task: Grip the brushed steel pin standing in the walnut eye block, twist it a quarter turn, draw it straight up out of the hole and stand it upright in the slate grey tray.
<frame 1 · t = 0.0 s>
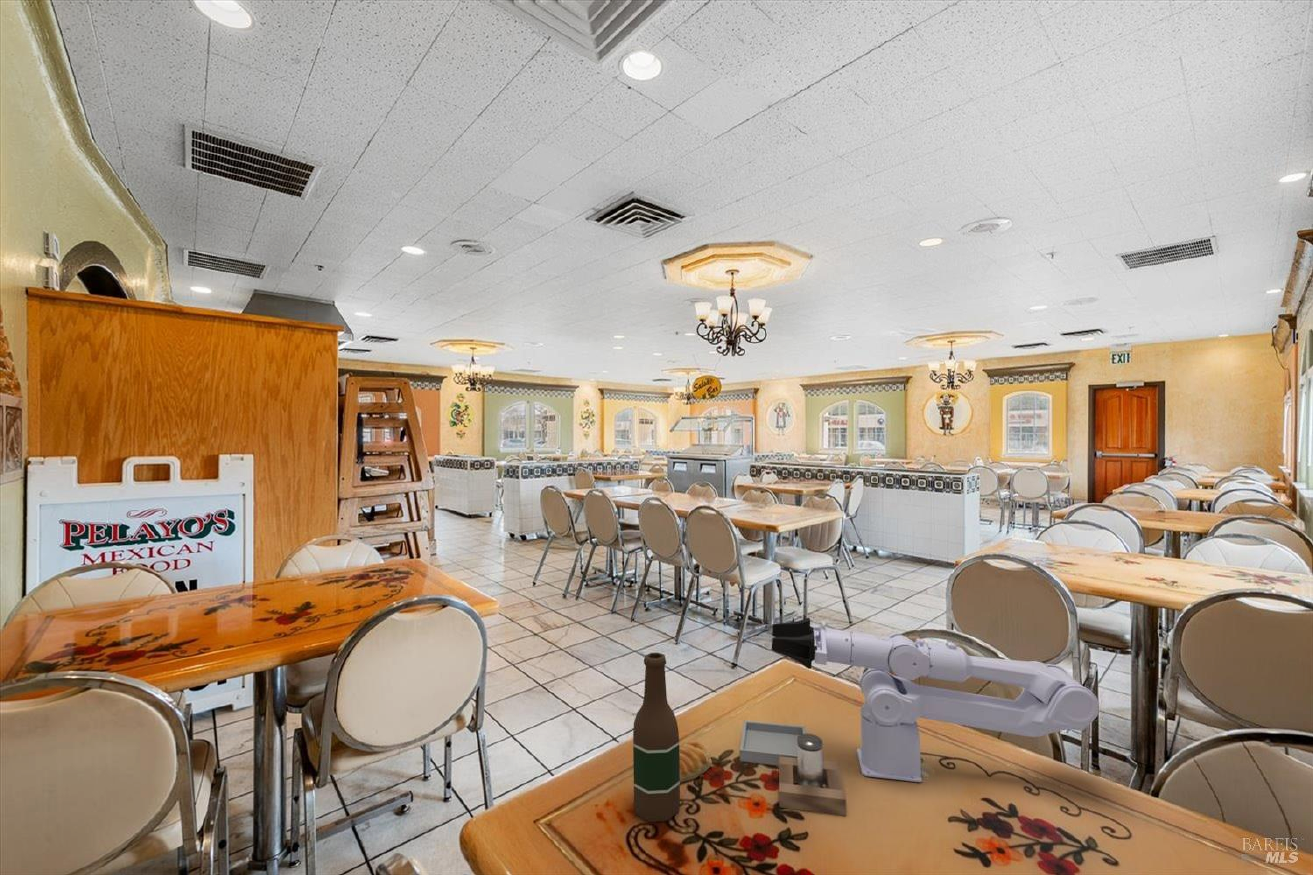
hand: (772, 636, 102), 22 cm above the table, tool horizontal, fingers open, 7 cm apart
pastry: (687, 772, 97), on the table
steel pin: (810, 765, 91), in the eye block
beer bottle: (656, 808, 87), on the table
eye block: (810, 791, 91), on the table
tray: (774, 748, 104), on the table
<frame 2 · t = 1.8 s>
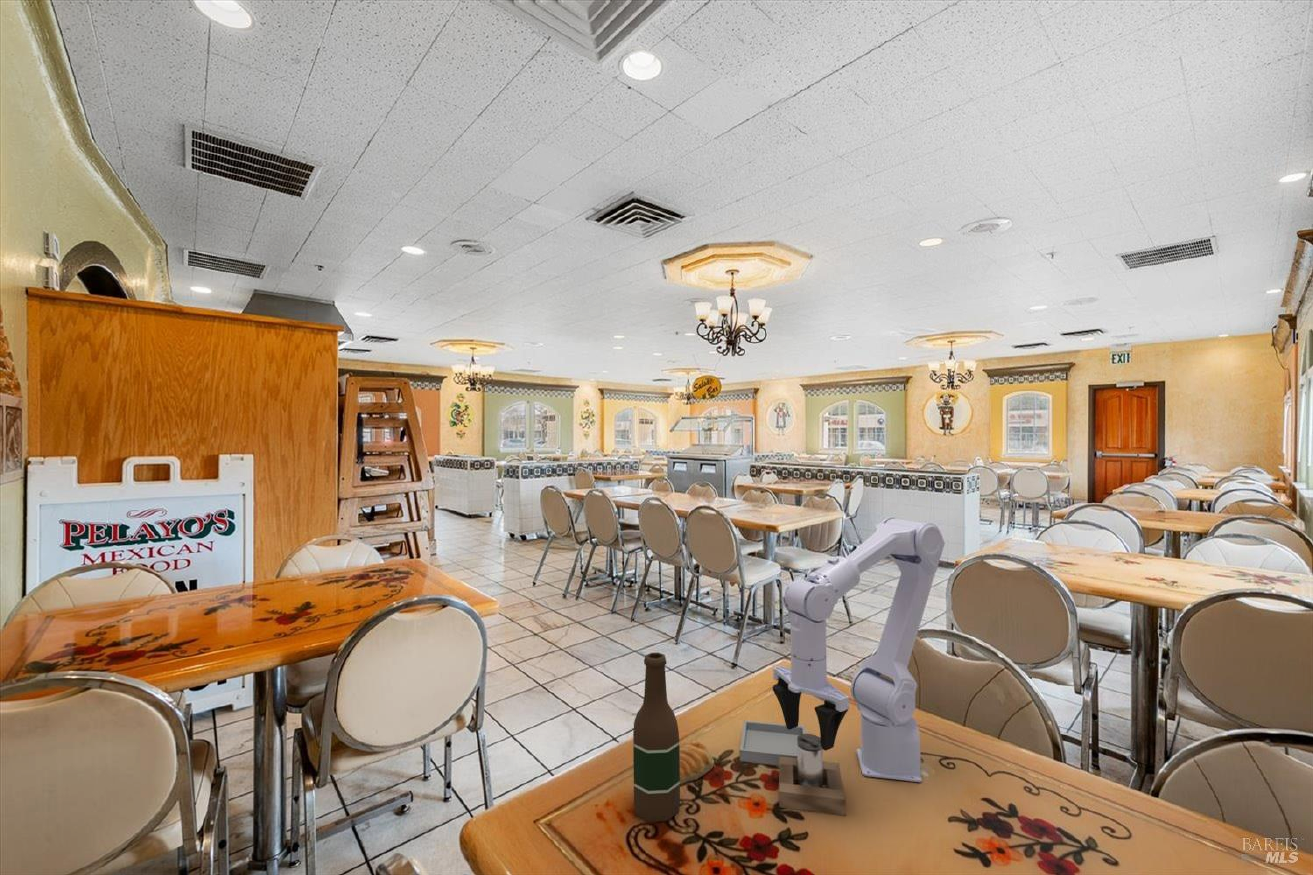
hand: (809, 737, 91), 9 cm above the table, tool pointing down, fingers open, 7 cm apart
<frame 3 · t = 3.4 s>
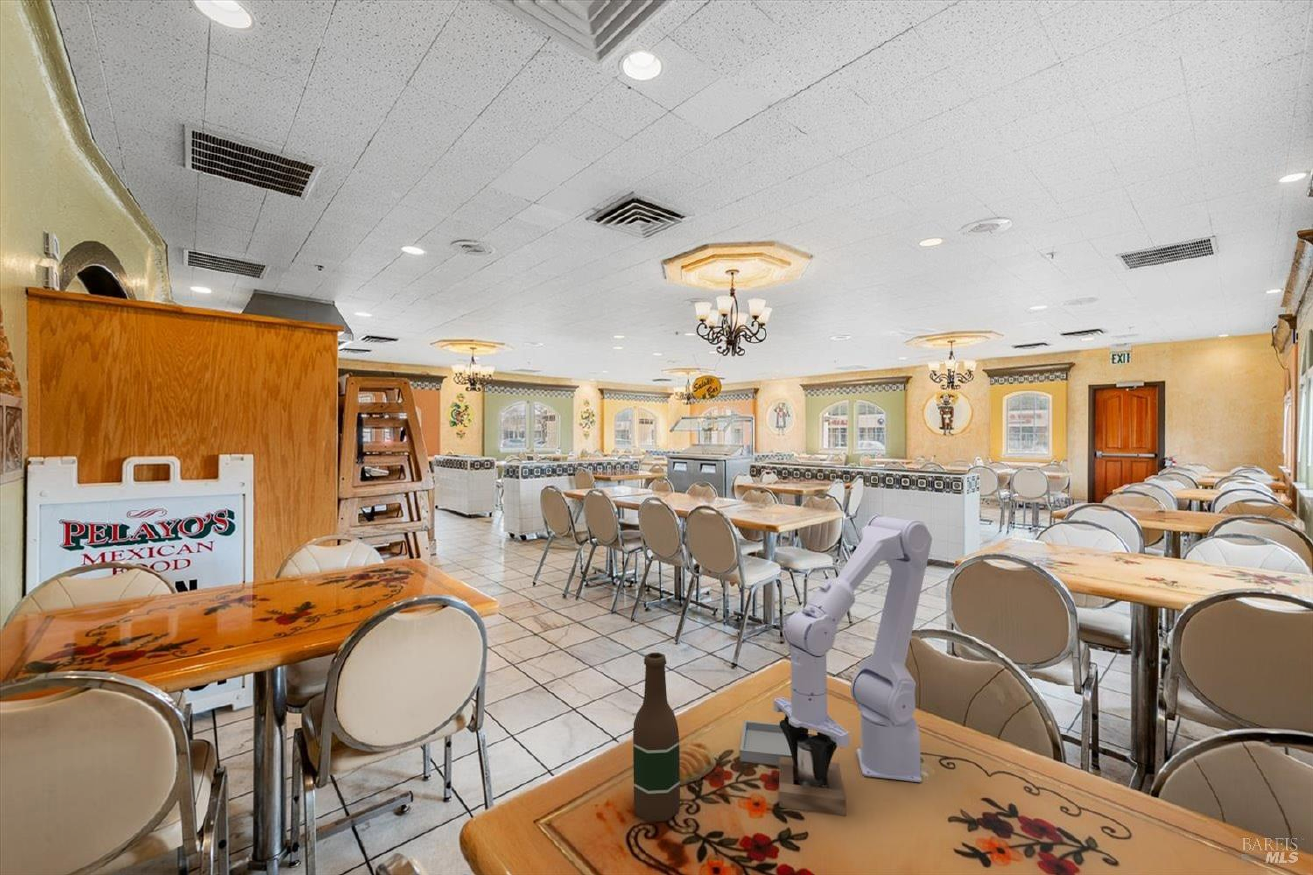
hand: (810, 770, 91), 3 cm above the table, tool pointing down, fingers closed on steel pin, 4 cm apart
steel pin: (810, 765, 91), in the eye block, touching gripper
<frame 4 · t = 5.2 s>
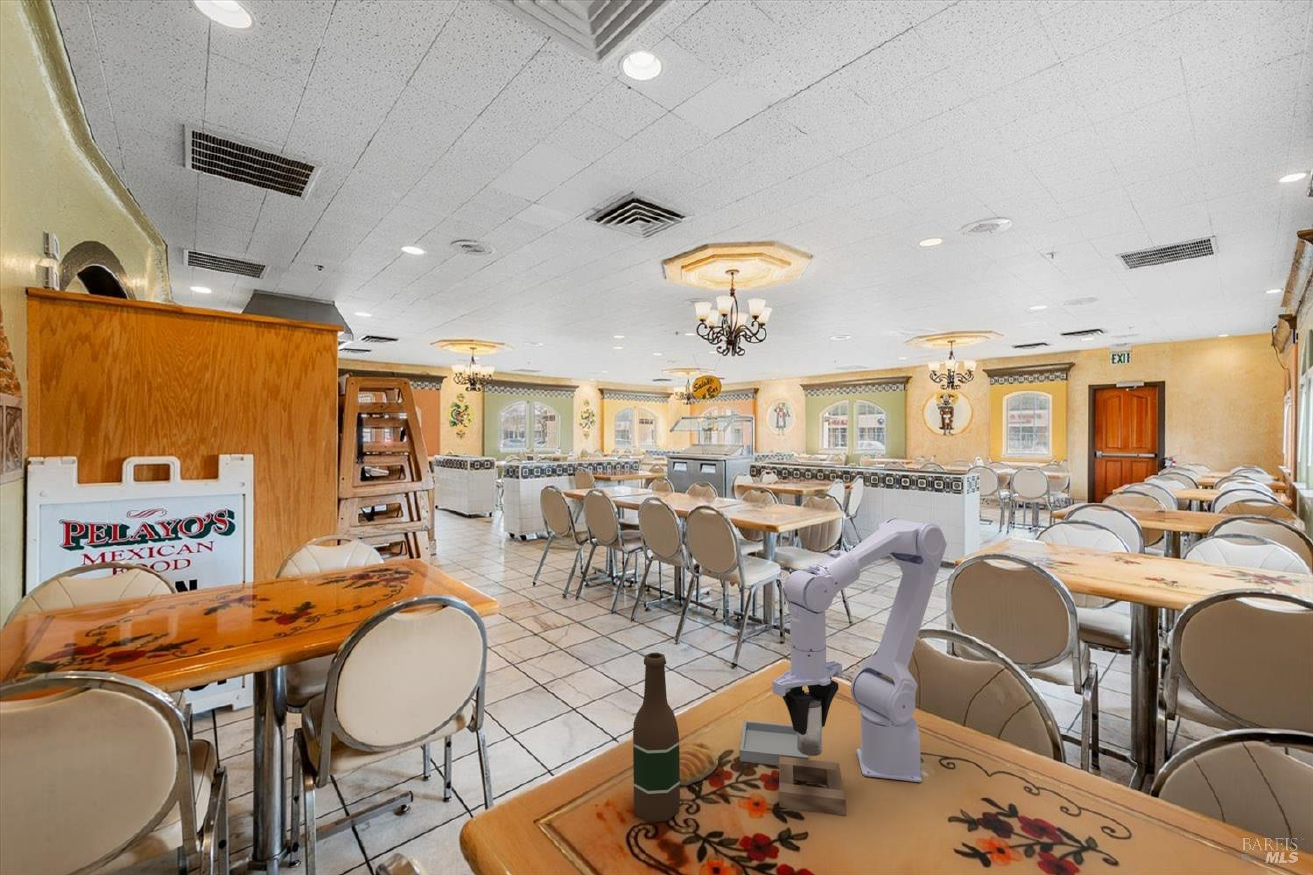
hand: (809, 727, 91), 10 cm above the table, tool pointing down, fingers closed on steel pin, 4 cm apart
steel pin: (809, 723, 91), point 11 cm above the table, touching gripper
when the fingers open (5 cm above the table, at t = 7.4 s): steel pin drops 1 cm, resting on tray.
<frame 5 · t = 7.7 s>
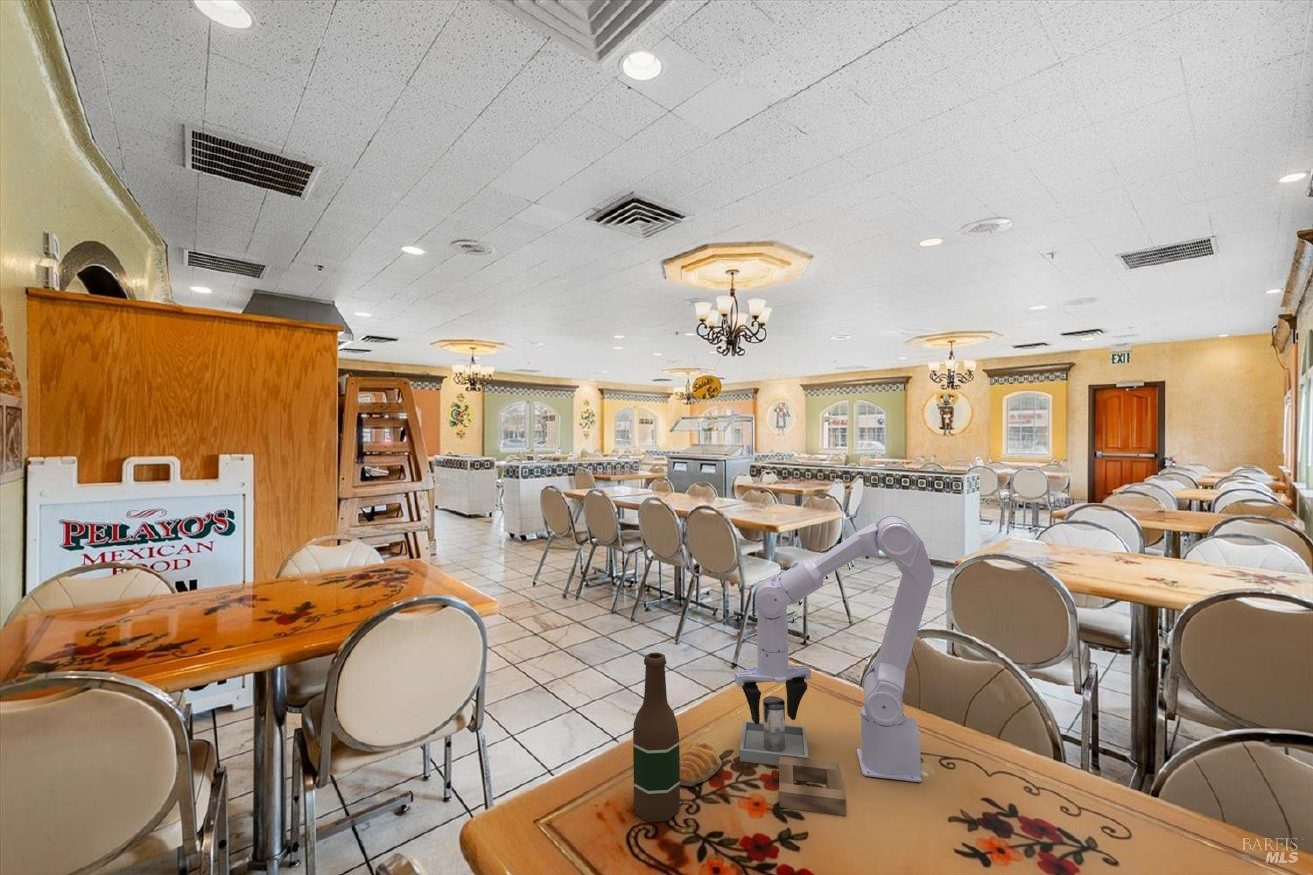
hand: (773, 719, 104), 5 cm above the table, tool pointing down, fingers open, 7 cm apart
steel pin: (774, 723, 103), in the tray
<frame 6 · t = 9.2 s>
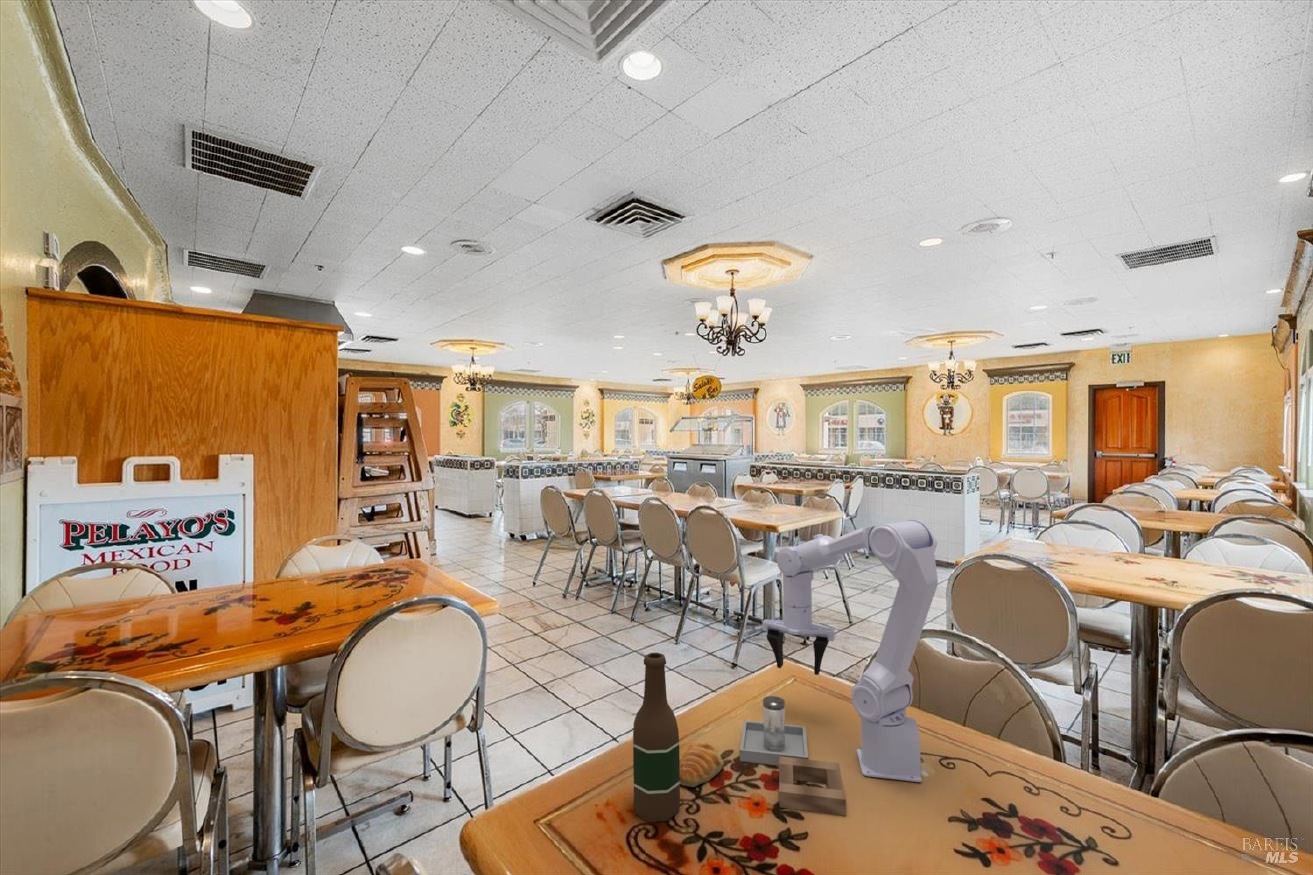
hand: (798, 669, 114), 10 cm above the table, tool pointing down, fingers open, 7 cm apart
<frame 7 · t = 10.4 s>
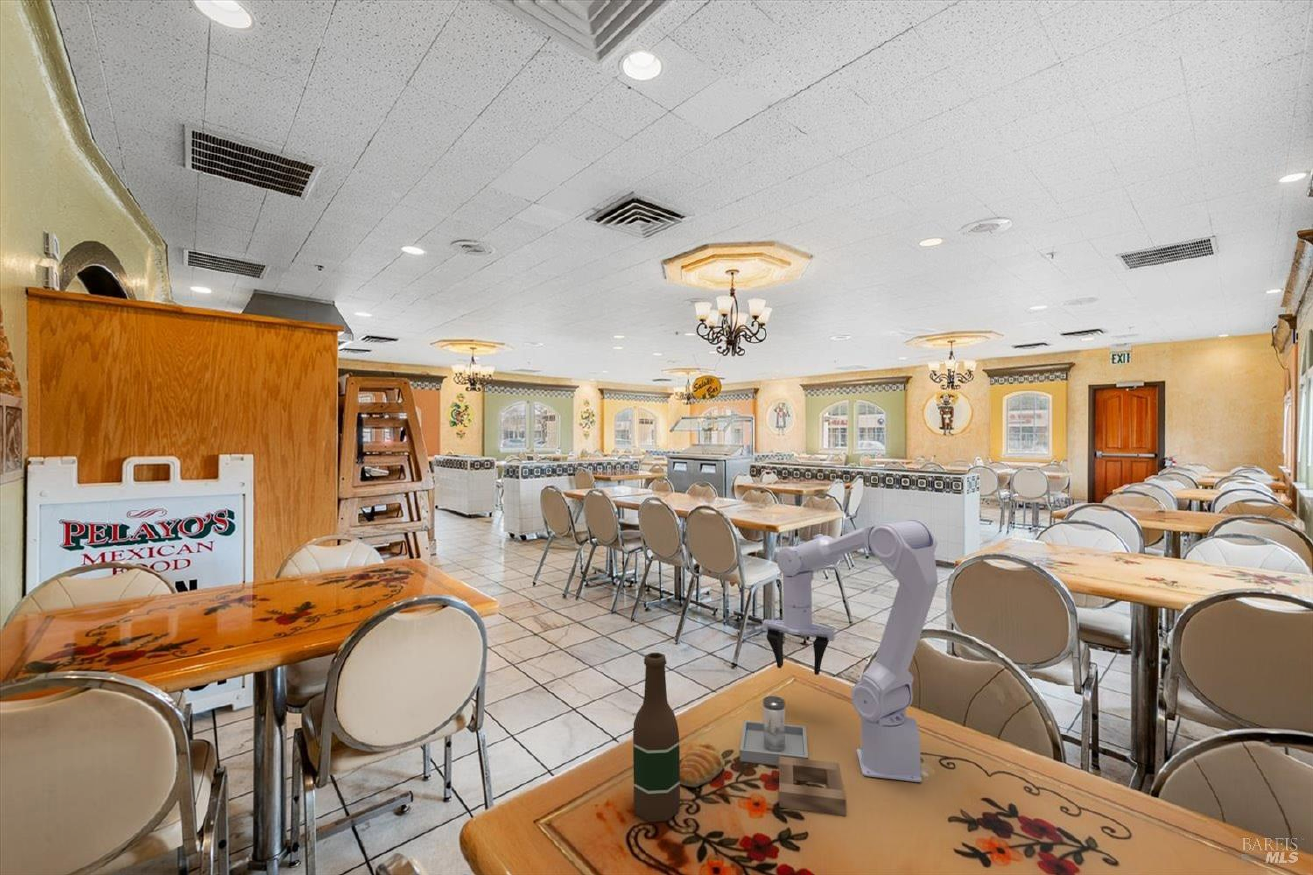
hand: (798, 669, 114), 10 cm above the table, tool pointing down, fingers open, 7 cm apart
at the end: steel pin inside the target area on the tray (0.2 cm from its centre), point 4.8 cm above the tray's base; steel pin tilted 0°; the gripper is holding nothing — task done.
